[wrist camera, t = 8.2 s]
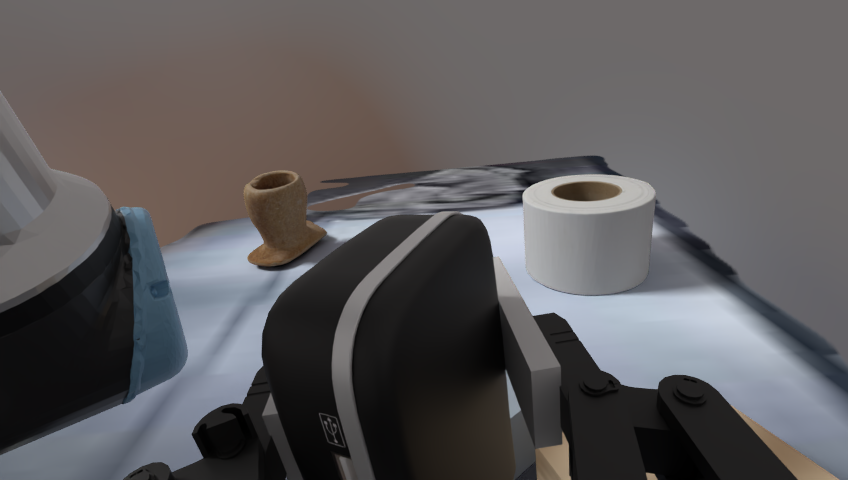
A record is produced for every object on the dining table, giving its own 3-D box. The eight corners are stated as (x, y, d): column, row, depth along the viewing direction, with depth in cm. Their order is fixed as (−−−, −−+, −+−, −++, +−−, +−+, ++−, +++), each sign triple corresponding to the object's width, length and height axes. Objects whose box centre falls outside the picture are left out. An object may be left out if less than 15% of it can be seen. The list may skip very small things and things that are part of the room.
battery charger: (434, 441, 18) (381, 195, 14) (520, 465, 16) (491, 192, 12) (341, 628, 12) (202, 309, 8) (458, 694, 11) (360, 335, 6)
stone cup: (292, 274, 66) (264, 186, 60) (241, 269, 71) (211, 187, 66) (345, 236, 79) (326, 160, 73) (298, 234, 84) (277, 162, 78)
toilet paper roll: (641, 242, 59) (646, 169, 55) (659, 299, 46) (667, 210, 42) (531, 241, 64) (528, 175, 60) (519, 293, 51) (513, 213, 47)
